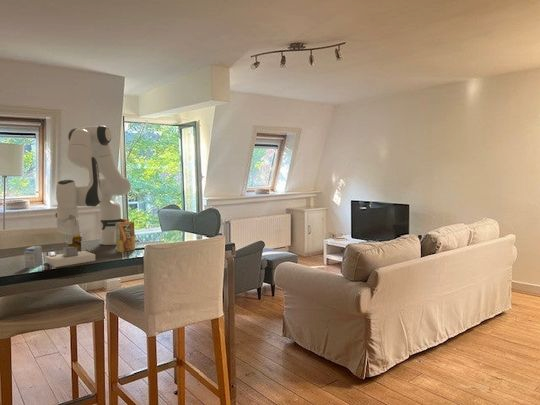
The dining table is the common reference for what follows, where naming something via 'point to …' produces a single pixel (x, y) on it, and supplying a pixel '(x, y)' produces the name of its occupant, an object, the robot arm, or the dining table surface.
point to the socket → (70, 259)
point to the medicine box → (33, 256)
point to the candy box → (125, 236)
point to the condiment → (76, 242)
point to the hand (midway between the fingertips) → (69, 243)
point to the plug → (70, 252)
